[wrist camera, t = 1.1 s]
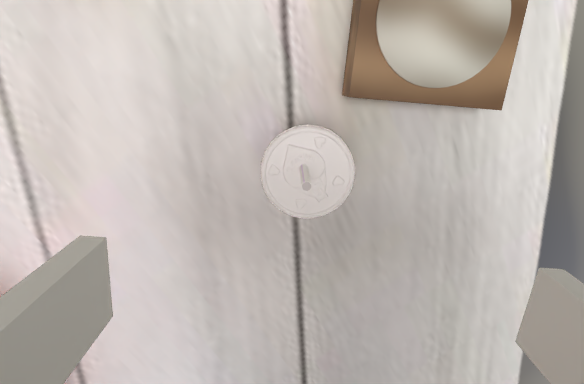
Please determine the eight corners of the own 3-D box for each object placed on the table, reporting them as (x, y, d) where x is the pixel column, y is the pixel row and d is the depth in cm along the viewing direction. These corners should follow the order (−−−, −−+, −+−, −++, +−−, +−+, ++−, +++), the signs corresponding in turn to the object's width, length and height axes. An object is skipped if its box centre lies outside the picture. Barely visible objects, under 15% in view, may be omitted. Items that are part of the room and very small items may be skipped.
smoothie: (314, 98, 32) (333, 112, 19) (350, 159, 34) (391, 211, 20) (253, 137, 33) (230, 177, 20) (291, 194, 35) (293, 267, 21)
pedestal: (476, 106, 32) (504, 110, 28) (342, 95, 32) (350, 97, 28) (511, -49, 29) (549, -70, 25) (361, -64, 29) (373, -89, 24)
